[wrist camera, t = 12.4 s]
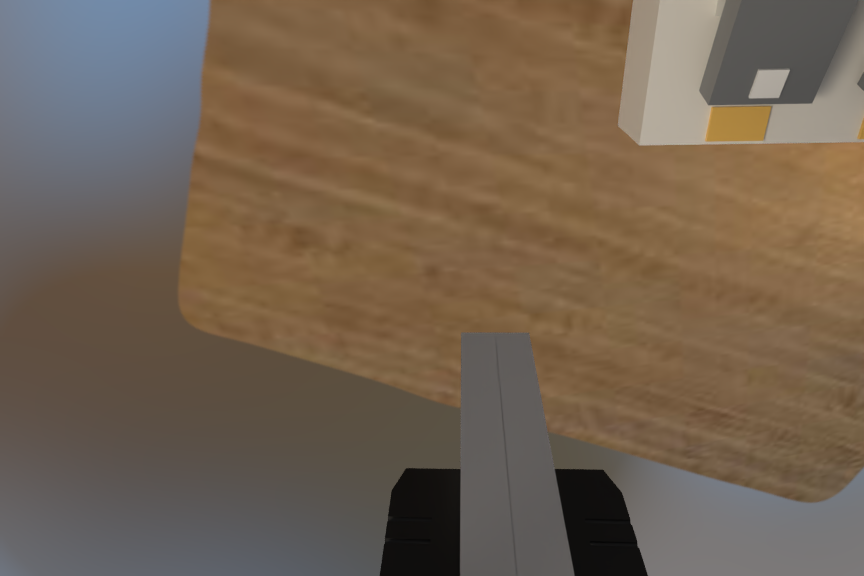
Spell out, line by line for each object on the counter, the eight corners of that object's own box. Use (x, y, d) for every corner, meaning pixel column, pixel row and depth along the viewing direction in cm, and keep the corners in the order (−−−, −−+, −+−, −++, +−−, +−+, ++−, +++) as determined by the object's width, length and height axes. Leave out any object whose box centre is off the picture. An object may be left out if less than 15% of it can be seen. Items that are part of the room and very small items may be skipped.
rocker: (761, -120, 23) (778, -111, 22) (889, -125, 23) (913, -117, 22) (698, 90, 30) (709, 106, 28) (798, 88, 29) (813, 104, 28)
